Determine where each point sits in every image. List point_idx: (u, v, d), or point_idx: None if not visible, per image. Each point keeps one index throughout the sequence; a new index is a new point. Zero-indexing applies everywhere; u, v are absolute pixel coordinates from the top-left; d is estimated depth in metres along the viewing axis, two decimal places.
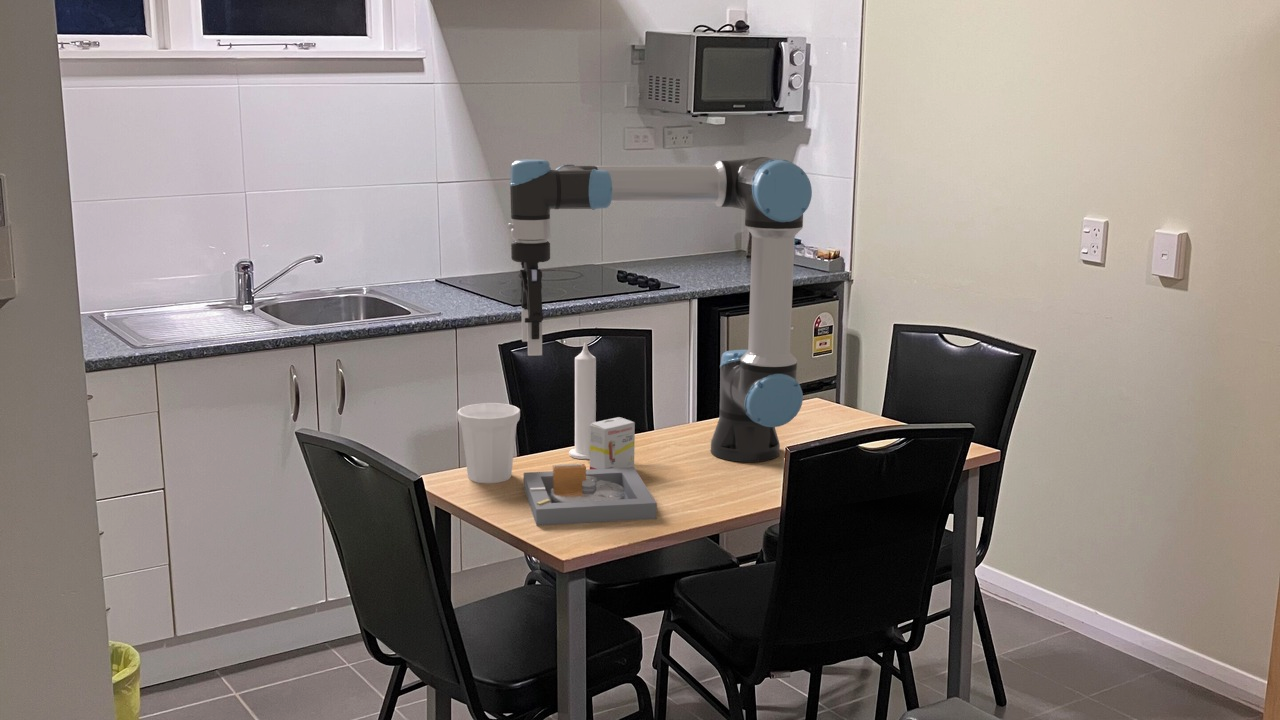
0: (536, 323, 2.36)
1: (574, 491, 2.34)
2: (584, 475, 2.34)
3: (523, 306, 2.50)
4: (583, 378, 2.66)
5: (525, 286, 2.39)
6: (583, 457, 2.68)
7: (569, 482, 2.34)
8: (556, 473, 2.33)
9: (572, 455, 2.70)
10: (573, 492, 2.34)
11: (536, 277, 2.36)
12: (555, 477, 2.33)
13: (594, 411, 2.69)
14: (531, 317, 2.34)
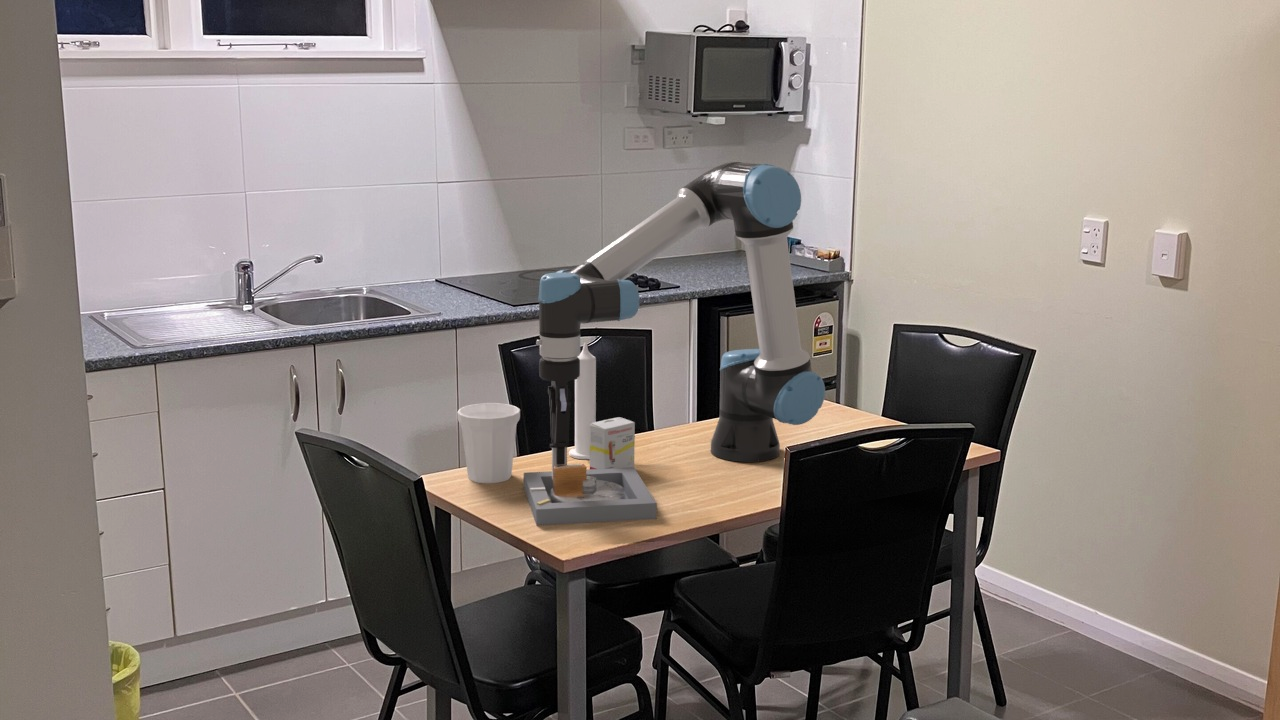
0: (561, 448, 2.32)
1: (575, 492, 2.34)
2: (585, 475, 2.34)
3: (554, 442, 2.34)
4: (583, 378, 2.66)
5: (553, 409, 2.30)
6: (583, 457, 2.68)
7: (569, 482, 2.33)
8: (557, 474, 2.32)
9: (572, 455, 2.70)
10: (574, 492, 2.34)
11: (565, 409, 2.27)
12: (556, 478, 2.32)
13: (594, 411, 2.69)
14: (557, 445, 2.30)
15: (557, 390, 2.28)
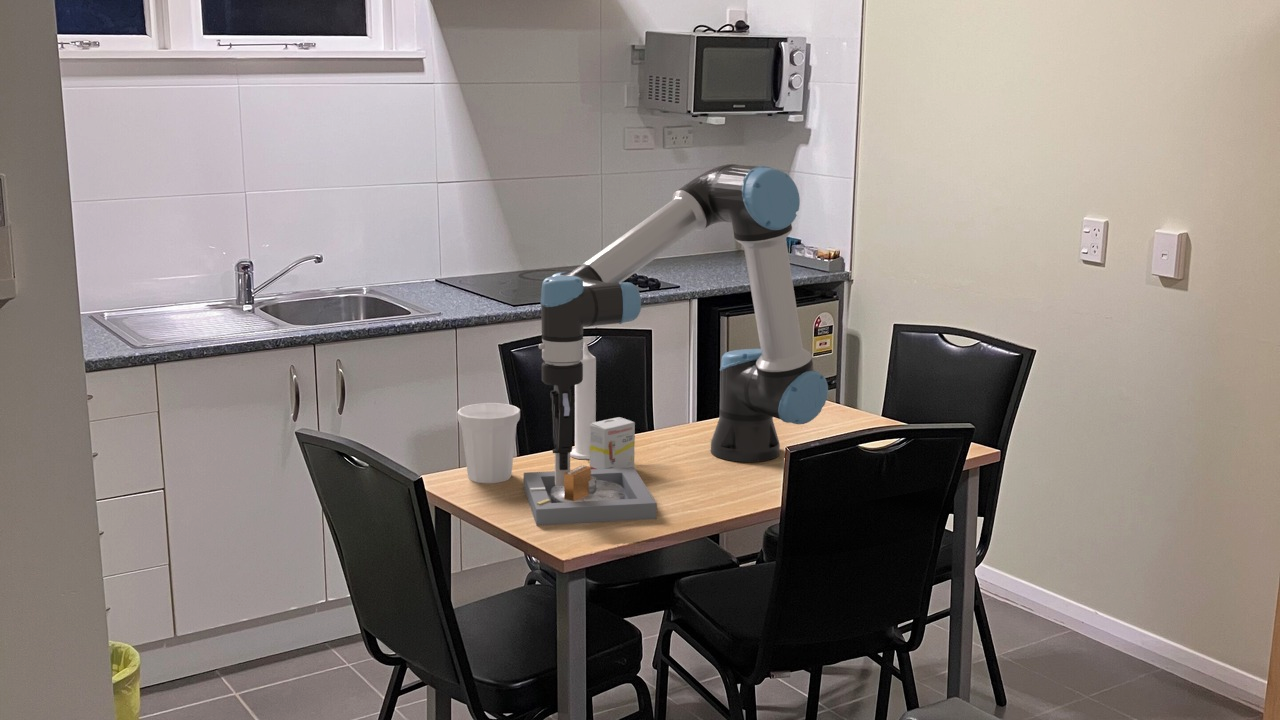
0: (564, 454, 2.29)
1: (584, 494, 2.33)
2: (590, 475, 2.34)
3: (556, 447, 2.31)
4: (583, 378, 2.66)
5: (556, 414, 2.27)
6: (583, 457, 2.68)
7: (581, 485, 2.32)
8: (574, 480, 2.29)
9: (572, 455, 2.70)
10: (584, 495, 2.33)
11: (568, 414, 2.24)
12: (574, 483, 2.29)
13: (594, 411, 2.69)
14: (560, 451, 2.27)
15: (560, 395, 2.25)
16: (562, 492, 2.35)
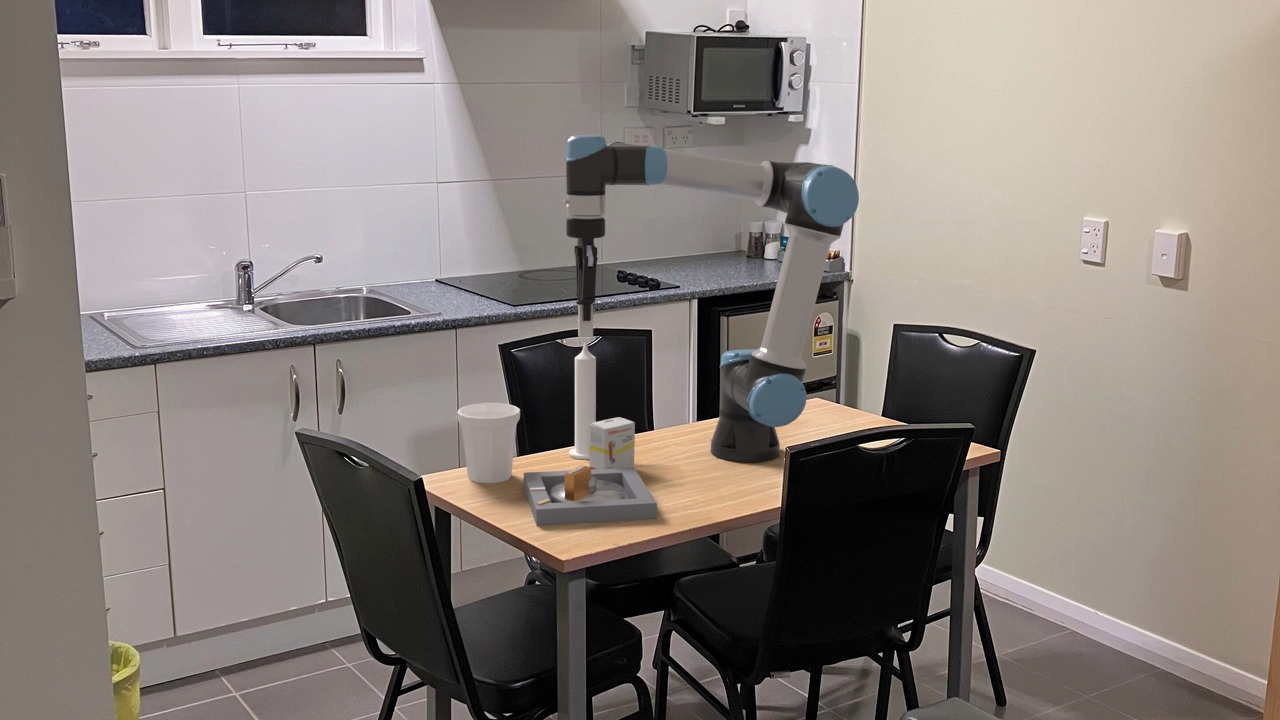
0: (588, 305, 2.42)
1: (584, 494, 2.33)
2: (590, 475, 2.34)
3: (580, 300, 2.45)
4: (583, 378, 2.66)
5: (580, 266, 2.41)
6: (583, 457, 2.68)
7: (581, 485, 2.32)
8: (575, 480, 2.29)
9: (572, 455, 2.70)
10: (584, 495, 2.33)
11: (592, 264, 2.37)
12: (574, 483, 2.29)
13: (594, 411, 2.69)
14: (583, 301, 2.40)
15: (584, 246, 2.38)
16: (562, 492, 2.35)
